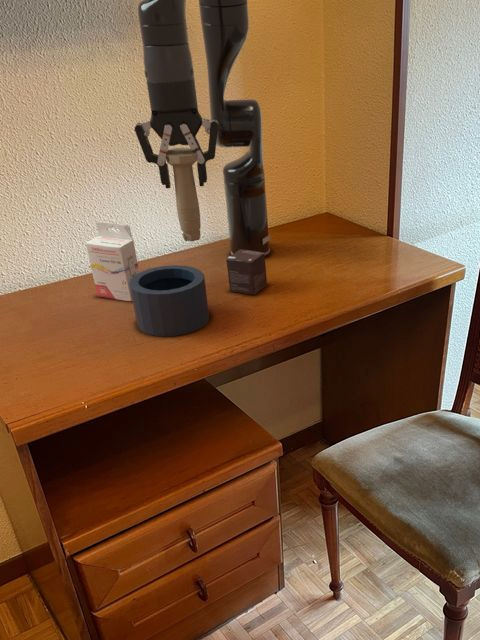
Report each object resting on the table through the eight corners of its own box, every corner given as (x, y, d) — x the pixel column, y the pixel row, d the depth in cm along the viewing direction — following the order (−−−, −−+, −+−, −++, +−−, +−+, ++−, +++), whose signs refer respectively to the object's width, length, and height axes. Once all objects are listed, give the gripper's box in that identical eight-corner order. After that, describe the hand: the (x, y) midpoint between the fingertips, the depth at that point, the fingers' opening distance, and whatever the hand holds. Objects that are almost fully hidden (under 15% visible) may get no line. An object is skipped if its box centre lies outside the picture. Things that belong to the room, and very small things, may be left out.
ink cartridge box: (96, 297, 139) (80, 228, 130) (109, 288, 142) (94, 220, 134) (131, 302, 136) (117, 231, 128) (144, 292, 140) (131, 223, 132)
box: (267, 285, 142) (265, 252, 138) (254, 296, 137) (251, 262, 133) (243, 281, 144) (240, 248, 140) (229, 291, 140) (225, 258, 135)
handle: (188, 246, 117) (176, 157, 108) (172, 237, 121) (159, 150, 112) (212, 240, 119) (202, 153, 110) (195, 231, 123) (184, 146, 114)
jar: (141, 307, 134) (133, 267, 129) (209, 303, 135) (204, 263, 130) (133, 338, 123) (124, 296, 118) (208, 333, 124) (202, 291, 119)
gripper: (215, 71, 108) (226, 178, 118) (126, 75, 107) (145, 182, 117) (215, 78, 102) (226, 190, 112) (121, 81, 101) (140, 194, 111)
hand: (184, 185), depth 114 cm, fingers closed on handle, 5 cm apart
